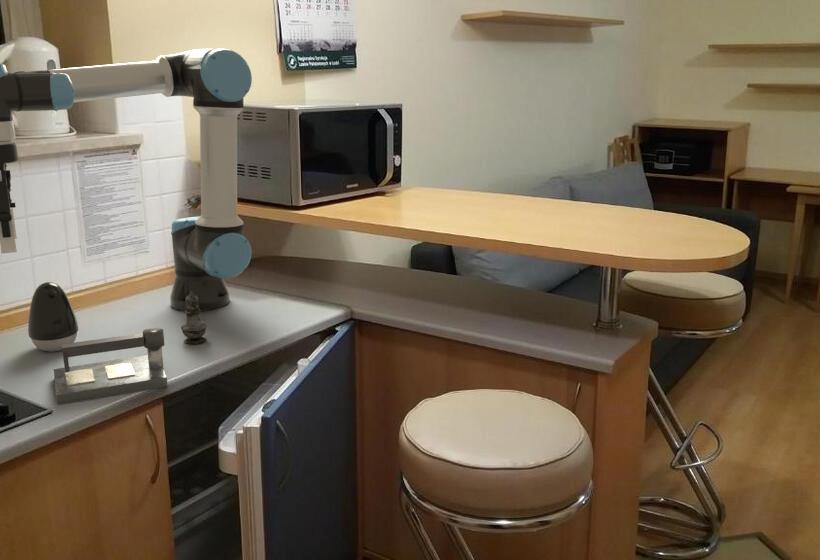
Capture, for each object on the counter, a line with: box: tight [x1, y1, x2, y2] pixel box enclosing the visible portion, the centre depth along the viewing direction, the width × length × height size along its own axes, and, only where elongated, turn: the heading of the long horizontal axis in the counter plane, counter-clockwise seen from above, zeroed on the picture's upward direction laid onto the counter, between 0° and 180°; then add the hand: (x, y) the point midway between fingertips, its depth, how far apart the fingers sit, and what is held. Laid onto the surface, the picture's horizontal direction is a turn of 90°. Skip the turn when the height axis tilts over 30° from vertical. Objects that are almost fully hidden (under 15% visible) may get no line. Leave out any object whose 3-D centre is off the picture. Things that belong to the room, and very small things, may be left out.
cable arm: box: [61, 327, 165, 372], centre depth 157 cm, size 19×4×6 cm, turn 116°
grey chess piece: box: [180, 291, 208, 346], centre depth 179 cm, size 6×6×12 cm
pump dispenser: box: [27, 281, 80, 352], centre depth 175 cm, size 10×10×15 cm
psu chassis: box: [53, 346, 169, 406], centre depth 157 cm, size 20×14×6 cm
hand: (9, 245), depth 164 cm, fingers open, 13 cm apart
